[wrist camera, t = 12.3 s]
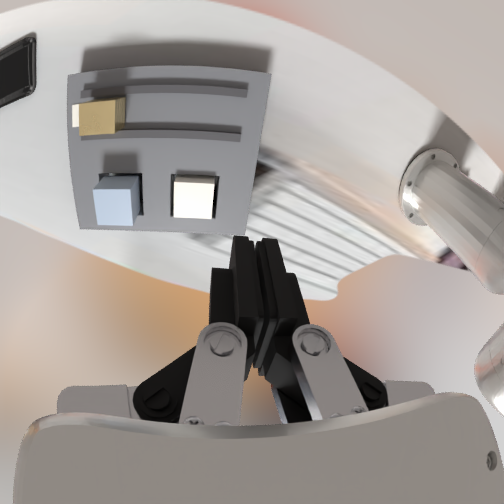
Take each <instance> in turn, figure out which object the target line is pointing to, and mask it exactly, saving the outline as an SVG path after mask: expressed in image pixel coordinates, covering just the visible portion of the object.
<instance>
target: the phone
mask: <svg viewBox="0 0 504 504" xmlns="http://www.w3.org/2000/svg"><path fill="white" fill-rule="evenodd" d="M35 88H36V40H35V38H31V37H28V38H25V39H23V40H21V41H19V42H17V43H16V44H14V45H12V46H10V47H8V48H7V49H5V50H3V51H1V52H0V108H1V107H3V106H6V105H8V104H10V103H12V102H14V101H17V100H19V99H21V98H24V97H26V96H29V95H31V94H32V93H33V92H34V90H35Z"/></svg>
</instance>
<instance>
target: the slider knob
mask: <svg viewBox="0 0 504 504" xmlns="http://www.w3.org/2000/svg"><path fill="white" fill-rule="evenodd" d="M125 102H126V97H116V98H104V99H94V100H90V101H86V102H83V103H80V104H79V136H84V135H97V134H115V133H116V132H118V131H119V130H121V129H122V128H124V127H125Z"/></svg>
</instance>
